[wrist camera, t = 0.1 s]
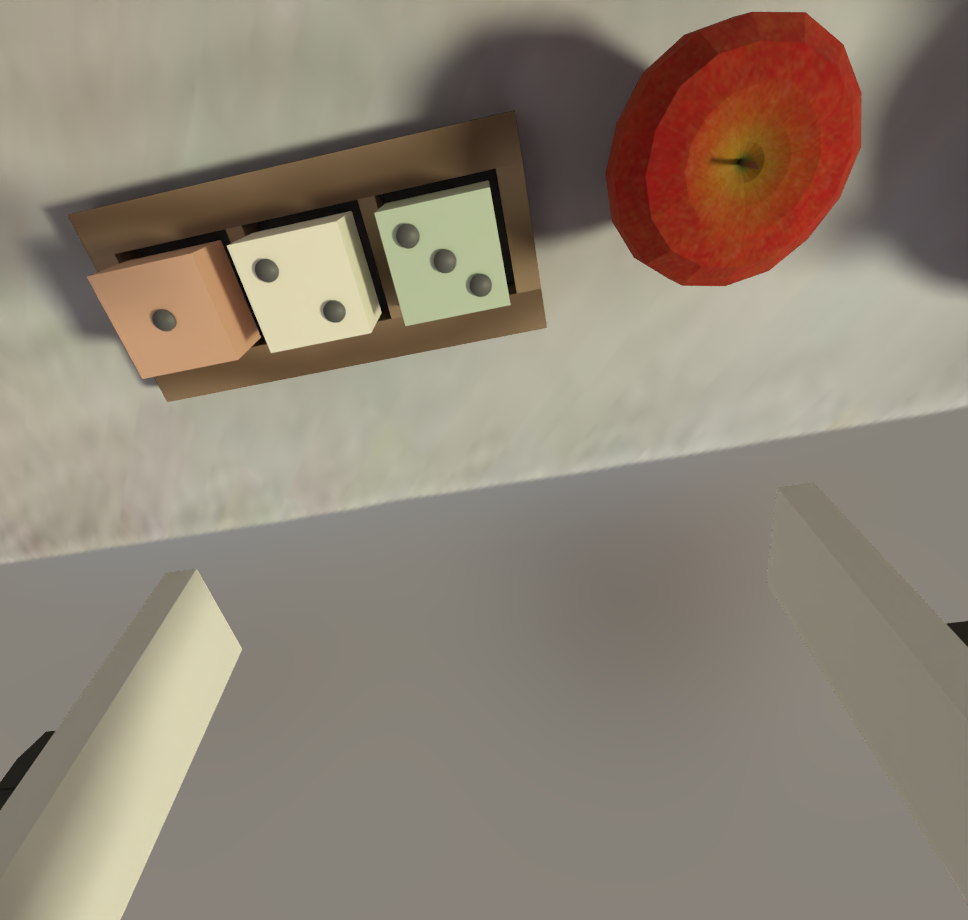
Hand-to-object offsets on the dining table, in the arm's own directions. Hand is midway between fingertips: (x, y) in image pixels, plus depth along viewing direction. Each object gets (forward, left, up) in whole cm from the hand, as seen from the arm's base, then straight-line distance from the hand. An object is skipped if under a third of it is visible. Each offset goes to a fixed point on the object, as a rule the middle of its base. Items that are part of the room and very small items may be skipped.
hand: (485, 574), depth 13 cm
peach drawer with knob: (-3, -17, -25) cm, 31 cm away
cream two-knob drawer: (-3, -9, -25) cm, 27 cm away
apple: (-5, +13, -28) cm, 31 cm away
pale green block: (-3, -1, -25) cm, 26 cm away
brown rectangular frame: (-3, -9, -28) cm, 29 cm away
